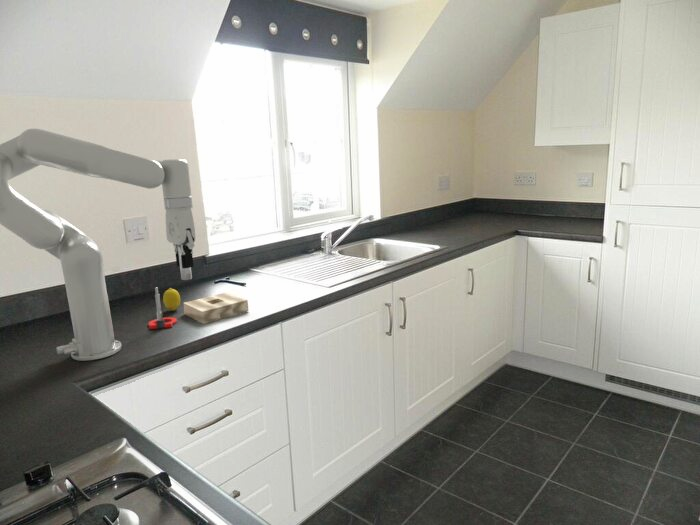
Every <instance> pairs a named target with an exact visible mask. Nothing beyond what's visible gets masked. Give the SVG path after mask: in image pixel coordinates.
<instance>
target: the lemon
mask: <svg viewBox="0 0 700 525" xmlns="http://www.w3.org/2000/svg"><path fill="white" fill-rule="evenodd" d="M162 298H163V299H162V302H163V305H164V306H165V308H166V309H168V310H171V311H172V312H174V311H175V310H176V309H177V308H179V306H180V305H181V302H182V301H181V296H180V293H179V291H178V290H176V289H174V288H172V287H169V288H168V289H167V290H165V291H164V293H163V297H162Z"/></svg>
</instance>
